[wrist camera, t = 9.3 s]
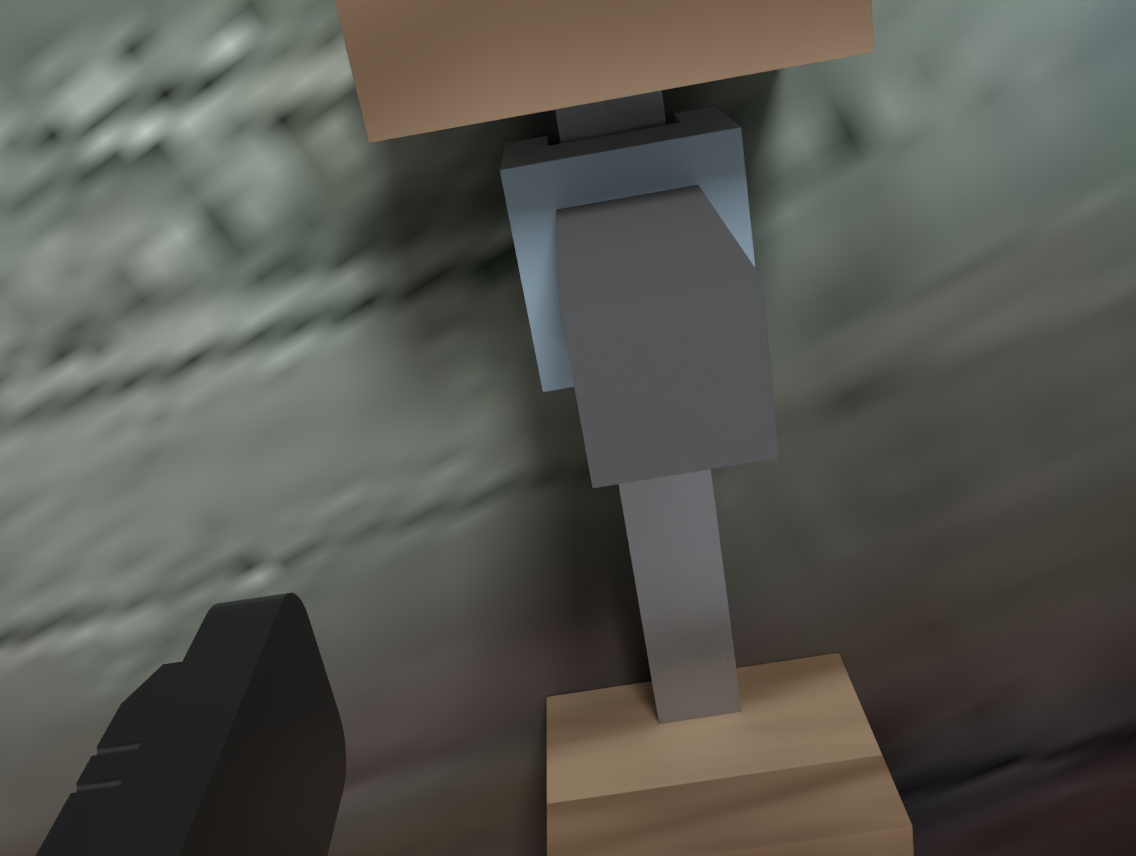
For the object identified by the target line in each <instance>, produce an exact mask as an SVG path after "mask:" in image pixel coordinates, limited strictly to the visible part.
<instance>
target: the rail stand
mask: <svg viewBox="0 0 1136 856" xmlns="http://www.w3.org/2000/svg"><path fill="white" fill-rule="evenodd" d="M335 4H336V8H337V12H338V16H339V20H340V25H341V29H342V33H343V37H344V41H345V45H346V49H347V53H348V58H349V62H350V66H351V70H352V74H353V78H354V82H355V86H356V91H357V95H358V99H359V103H360V107H361V111H362V115H363V120H364V124H365V128H366V132H367V136H368V140H369V143H371V142H377V141H382V140H388V139H393V138H399V137H404V136H410V135H415V134H421V133H427V132H432V131H438V130H443V129H449V128H454V127H460V126H466V125H471V124H477V123H482V122H488V121H493V120H499V119H505V118H510V117H516V116H521V115H527V114H532V113H538V112H543V111H549V110H555V112H556V118H557V124H558V130H559V136H560V142H561V143H567V142H573V141H578V140H584V139H590V138H595V137H601V136H606V135H612V134H618V133H623V132H629V131H634V130H640V129H646V128H651V127H657V126H663V125H666V119H665V111H664V103H663V95H662V90H666V89H671V88H677V87H683V86H688V85H694V84H699V83H705V82H710V81H716V80H721V79H727V78H733V77H738V76H744V75H749V74H755V73H760V72H766V71H772V70H777V69H783V68H788V67H794V66H799V65H805V64H811V63H816V62H822V61H827V60H833V59H838V58H844V57H849V56H855V55H861V54H866V53H872V52H874V42H873V22H872V2H871V0H335ZM619 490H620V496H621V501H622V507H623V513H624V519H625V525H626V531H627V537H628V543H629V549H630V555H631V560H632V566H633V572H634V578H635V584H636V590H637V596H638V602H639V608H640V614H641V619H642V625H643V631H644V637H645V643H646V649H647V655H648V661H649V667H650V672H651V678H652V681H649V682H642V683H636V684H629V685H623V686H616V687H609V688H603V689H596V690H590V691H583V692H576V693H570V694H563V695H557V696H550V697H547V856H914V853H913V833H912V824H911V822H910V820H909V817H908V815H907V812H906V810H905V808H904V805H903V803H902V801H901V798H900V796H899V794H898V791H897V789H896V787H895V784H894V782H893V780H892V777H891V775H890V772H889V770H888V768H887V765H886V763H885V761H884V758H883V756H882V754H881V751H880V749H879V747H878V744H877V742H876V739H875V737H874V735H873V732H872V730H871V728H870V725H869V723H868V721H867V718H866V716H865V714H864V711H863V709H862V706H861V704H860V702H859V699H858V697H857V695H856V692H855V690H854V688H853V685H852V683H851V681H850V678H849V676H848V674H847V671H846V669H845V666H844V664H843V662H842V659H841V657H840V655H839V653H834V654H827V655H821V656H814V657H808V658H801V659H794V660H788V661H781V662H774V663H768V664H761V665H755V666H748V667H741V668H736V662H735V655H734V647H733V639H732V631H731V624H730V616H729V608H728V600H727V593H726V585H725V577H724V569H723V561H722V554H721V546H720V538H719V530H718V523H717V515H716V507H715V499H714V492H713V484H712V476H711V469H710V470H704V471H698V472H691V473H685V474H679V475H673V476H667V477H660V478H654V479H648V480H642V481H635V482H629V483H623V484H619Z"/></svg>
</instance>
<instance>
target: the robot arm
mask: <svg viewBox="0 0 1136 856" xmlns="http://www.w3.org/2000/svg"><path fill="white" fill-rule="evenodd" d="M345 775H346V748H345V738H344V732H343V727H342V722H341V718H340V715H339V712H338V709H337V705H336V702H335V699H334V696H333V693H332V690H331V687H330V683H329V680H328V677H327V674H326V671H325V668H324V664H323V661H322V658H321V655H320V652H319V649H318V646H317V642H316V639H315V636H314V633H313V630H312V627H311V623H310V620H309V617H308V614H307V612H306V609H305V607H304V605H303V603H302V601H301V600H300V598H299V597H298V596H297V595H296V594H294V593H286V594H280V595H273V596H266V597H259V598H252V599H245V600H239V601H232V602H225V603H218V604H215V605H213V606H212V607H211V608H210V610H209V611H208V613H207V614H206V616H205V618H204V620H203V622H202V624H201V626H200V628H199V630H198V632H197V634H196V636H195V638H194V640H193V642H192V644H191V646H190V648H189V650H188V652H187V654H186V656H185V658H184V660H183V662H177V663H170V664H163V665H162V666H161V667H160V668H159V669H158V670H157V671H156V672H155V673H153V674H152V675H151V676H150V677H149V678H148V679H147V680H146V681H145V682H144V683H143V684H142V685H141V686H140V687H139V688H138V689H136V690H135V691H134V692H133V693H132V694H131V695H130V696H129V697H128V698H127V699H126V700H125V701H124V702H123V703H122V704H121V705H120V707H119V709H118V710H117V712H116V714H115V716H114V717H113V719H112V721H111V723H110V725H109V726H108V728H107V730H106V732H105V733H104V735H103V737H102V739H101V741H100V742H99V744H98V746H97V755H95V756H92V757H91V758H90V760H89V762H88V764H87V765H86V767H85V769H84V771H83V773H82V774H81V776H80V778H79V780H78V781H77V783H76V784H77V792H76V793H71V794H70V796H69V797H68V799H67V801H66V803H65V805H64V806H63V808H62V810H61V812H60V813H59V815H58V817H57V819H56V821H55V822H54V824H53V826H52V828H51V829H50V831H49V833H48V835H47V837H46V838H45V840H44V842H43V844H42V845H41V847H40V849H39V851H38V853H37V854H36V856H327V854H328V850H329V846H330V842H331V838H332V834H333V830H334V826H335V822H336V817H337V813H338V809H339V805H340V801H341V797H342V793H343V788H344V783H345Z"/></svg>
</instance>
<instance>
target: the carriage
mask: <svg viewBox="0 0 1136 856" xmlns="http://www.w3.org/2000/svg"><path fill="white" fill-rule="evenodd" d="M673 115H674V124H668V125H663V126H657V127H651V128H646V129H640V130H634V131H629V132H623V133H618V134H612V135H606V136H601V137H595V138H590V139H584V140H578V141H573V142H567V143H561V144H556V145H550V146H549V143H548V137H547V136H543V137H538V138H532V139H526V140H521V141H515V142H510V143H505V148H504V153H503V157H502V162H501V167H500V174H501V179H502V184H503V189H504V195H505V200H506V205H507V210H508V215H509V220H510V225H511V231H512V236H513V241H514V246H515V251H516V256H517V261H518V267H519V272H520V277H521V282H522V287H523V292H524V297H525V302H526V308H527V313H528V318H529V323H530V328H531V333H532V338H533V344H534V349H535V354H536V359H537V364H538V369H539V374H540V380H541V385H542V390H543V392H546V391H552V390H558V389H564V388H570V387H574V388H575V394H576V399H577V405H578V410H579V416H580V422H581V427H582V433H583V438H584V444H585V449H586V455H587V460H588V466H589V471H590V477H591V482H592V488H598V487H604V486H611V485H617V484H623V483H629V482H635V481H642V480H648V479H654V478H660V477H667V476H673V475H679V474H685V473H691V472H698V471H704V470H710V469H716V468H722V467H729V466H735V465H741V464H747V463H753V462H760V461H766V460H772V459H778V458H779V449H778V439H777V429H776V419H775V409H774V399H773V389H772V378H771V368H770V358H769V348H768V338H767V328H766V318H765V307H764V297H763V287H762V277H761V276H760V274H759V273H758V271H757V270H756V268H755V260H754V250H753V240H752V230H751V220H750V210H749V200H748V190H747V180H746V170H745V161H744V151H743V141H742V131H741V127H740V126H739V125H738V124H737V123H735V122H734V121H733V120H732V119H731V118H730V117H728V116H727V115H726V114H725V113H724V112H723V111H721V110H720V109H719V108H718V107H717V106H711V107H706V108H700V109H694V110H689V111H683V112H678V113H673Z"/></svg>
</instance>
